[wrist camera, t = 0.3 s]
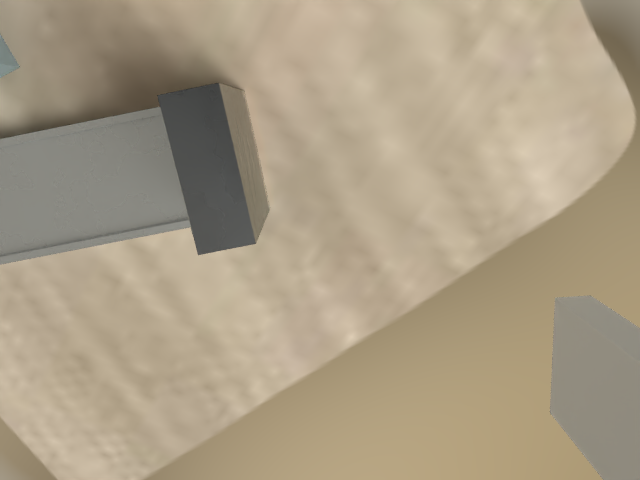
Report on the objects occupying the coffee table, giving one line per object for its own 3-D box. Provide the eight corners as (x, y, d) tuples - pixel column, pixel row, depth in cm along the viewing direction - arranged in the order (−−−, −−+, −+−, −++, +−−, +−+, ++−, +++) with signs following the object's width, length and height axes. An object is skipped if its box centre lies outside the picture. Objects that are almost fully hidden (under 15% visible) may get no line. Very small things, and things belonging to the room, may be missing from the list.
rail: (-77, 155, 36) (-226, 172, 26) (244, 90, 36) (218, 82, 26) (-36, 268, 38) (-160, 324, 28) (270, 208, 38) (255, 243, 28)
